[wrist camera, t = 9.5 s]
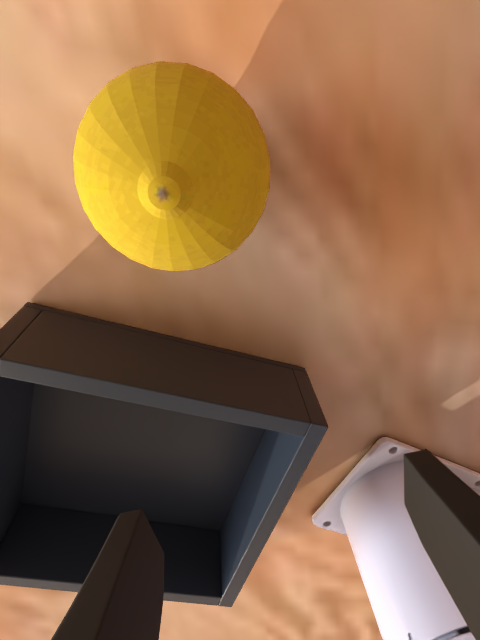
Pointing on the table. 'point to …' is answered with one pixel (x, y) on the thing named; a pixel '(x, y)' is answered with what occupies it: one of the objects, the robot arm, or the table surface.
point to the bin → (143, 451)
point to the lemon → (171, 166)
